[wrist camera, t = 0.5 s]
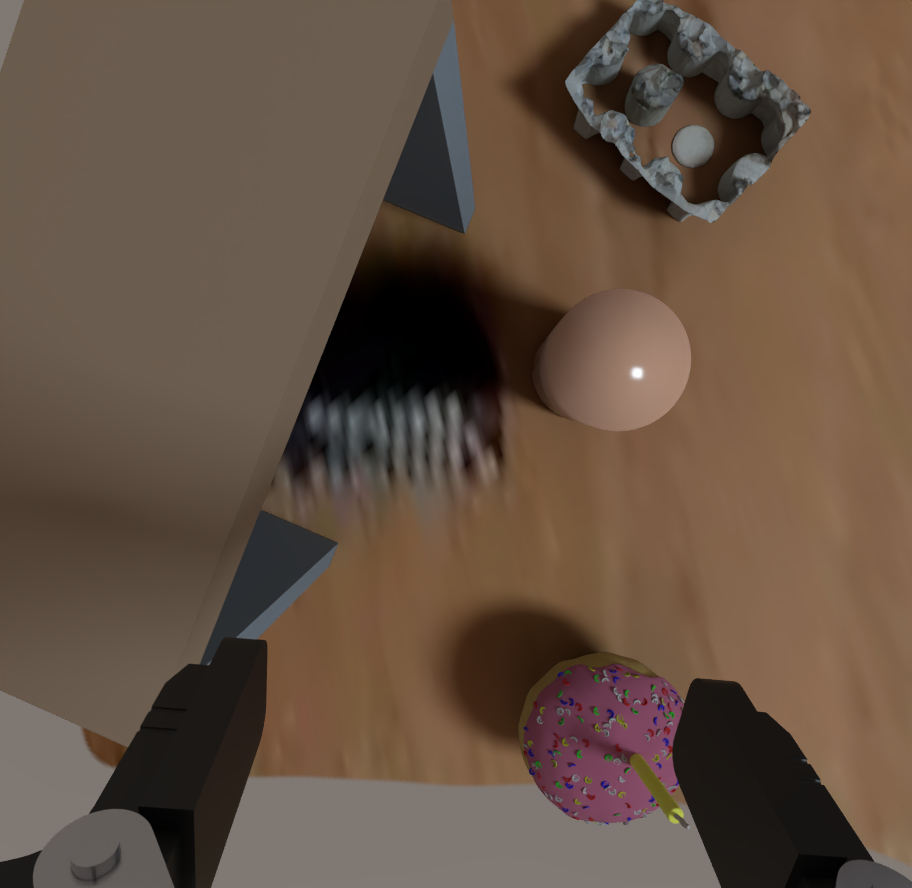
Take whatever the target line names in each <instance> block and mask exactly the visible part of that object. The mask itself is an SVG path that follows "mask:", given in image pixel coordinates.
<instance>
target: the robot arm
mask: <svg viewBox="0 0 912 888" xmlns="http://www.w3.org/2000/svg"><path fill="white" fill-rule="evenodd" d="M266 689H267V642H266V640H256V639H244V638H233V637H224V638H223V639H222V641H221V643H220V645H219V647H218V649H217V651H216V653H215V655H214V657H213V659H212V661H211V663H210V665H199V664H188V665H187V666H185V667H184V668H183V669H182V670H180V671H179V672H178V673H177V674H176V675H174V676H173V677H172V678H171V679H169V680H168V681H167V682H166V683H165V684H164V686H163V688H162V689H161V691H160V693H159V695H158V696H157V698H156V700H155V702H154V703H153V705H152V708H151V711H149V712H148V714H147V715H146V717H145V719H144V721H143V722H142V724H141V726H140V730H139V731H137V733H136V734H135V736H134V738H133V740H132V741H131V743H130V745H129V747H128V748H127V750H126V752H125V754H124V755H123V757H122V759H121V761H120V762H119V764H118V766H117V767H116V769H115V771H114V773H113V775H112V776H111V778H110V780H109V781H108V783H107V785H106V787H105V788H104V790H103V792H102V793H101V795H100V797H99V799H98V800H97V802H96V804H95V806H94V807H93V809H92V810H91V812H90V813H89V814H88V815H86V816H83V817H81V818H79V819H77V820H75V821H74V822H72V823H70V824H69V825H67V826H66V827H64V828H63V829H62V830H60V831H59V832H58V833H57V834H56V835H55V836H54V837H53V838H52V839H51V840H50V841H49V842H48V843H47V845H46V846H45V847H44V848H43V850H41V851H38V852H36V853H33V854H31V855H28V856H24V857H21V858H17V859H12V860H8V861H3V862H0V888H211V886H212V883H213V880H214V877H215V874H216V871H217V868H218V865H219V862H220V859H221V856H222V853H223V850H224V847H225V844H226V841H227V838H228V835H229V832H230V829H231V827H232V823H233V820H234V818H235V814H236V812H237V808H238V806H239V803H240V800H241V797H242V794H243V791H244V788H245V785H246V782H247V779H248V776H249V773H250V770H251V767H252V764H253V761H254V758H255V755H256V752H257V749H258V746H259V743H260V740H261V736H262V732H263V727H264V721H265V713H266ZM672 759H673V767H674V771H675V775H676V778H677V780H678V783H679V785H680V788H681V790H682V793H683V795H684V797H685V800H686V802H687V805H688V807H689V810H690V812H691V815H692V817H693V819H694V822H695V824H696V827H697V829H698V832H699V834H700V836H701V839H702V841H703V844H704V846H705V849H706V851H707V854H708V856H709V859H710V861H711V863H712V866H713V868H714V871H715V873H716V875H717V878H718V880H719V883H720V885H721V888H912V882H911V881H910V880H909V879H907V878H906V877H905V876H903V875H901V874H900V873H898V872H896V871H895V870H893V869H891V868H889V867H887V866H884V865H882V864H879V863H876V862H874V860H873V859H872V857H871V856H870V854H869V853H868V851H867V850H866V848H865V847H864V845H863V844H862V842H861V841H860V839H859V837H858V836H857V834H856V833H855V831H854V830H853V828H852V827H851V825H850V824H849V822H848V821H847V819H846V818H845V816H844V815H843V813H842V812H841V810H840V809H839V807H838V806H837V804H836V803H835V801H834V800H833V798H832V796H831V795H830V793H829V792H828V790H827V789H826V787H825V786H824V785H821V783H820V778H819V777H818V775H817V774H816V772H815V771H814V769H813V768H812V766H811V765H810V764H807V758H806V757H805V755H804V754H803V752H802V751H801V749H800V748H799V746H798V745H797V743H796V742H795V740H794V739H793V737H792V736H791V734H790V733H788V732H787V731H786V730H785V729H784V728H783V727H782V726H781V725H779V724H778V723H777V722H776V721H775V720H774V719H773V718H772V717H771V716H769V715H768V714H767V713H766V712H757V710H756V709H755V707H754V706H753V704H752V702H751V701H750V699H749V698H748V696H747V694H746V693H745V691H744V690H743V688H742V687H741V685H740V684H739V683H737V682H734V681H724V680H712V679H700V678H697V679H694V680H693V681H692V683H691V685H690V687H689V690H688V693H687V697H686V700H685V703H684V707H683V710H682V713H681V717H680V720H679V723H678V727H677V730H676V733H675V737H674V741H673V748H672Z"/></svg>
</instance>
